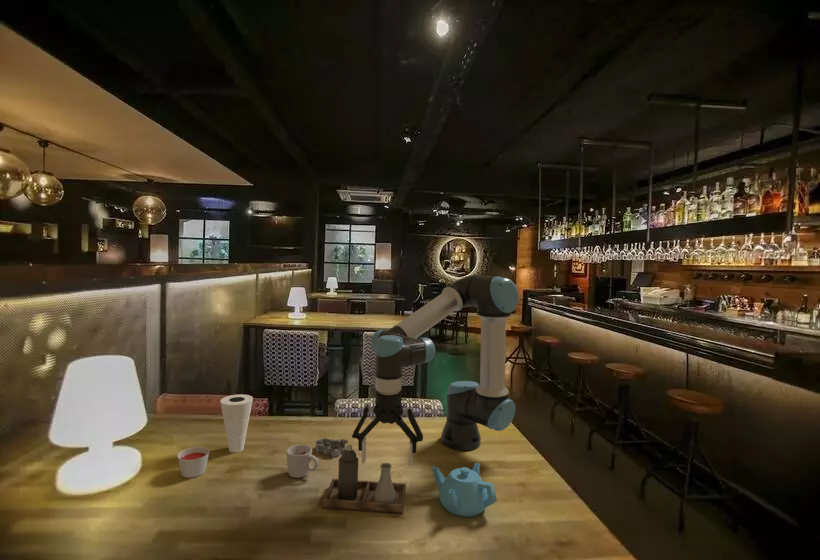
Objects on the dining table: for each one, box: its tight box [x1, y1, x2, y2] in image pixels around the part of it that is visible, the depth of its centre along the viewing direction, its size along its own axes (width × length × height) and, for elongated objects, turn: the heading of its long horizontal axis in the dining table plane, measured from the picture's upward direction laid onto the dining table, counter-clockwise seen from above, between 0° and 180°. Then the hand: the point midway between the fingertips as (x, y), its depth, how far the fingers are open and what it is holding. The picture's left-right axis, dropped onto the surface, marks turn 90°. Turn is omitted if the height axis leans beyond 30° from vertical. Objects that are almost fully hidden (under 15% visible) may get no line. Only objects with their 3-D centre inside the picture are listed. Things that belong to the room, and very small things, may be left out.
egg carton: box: [314, 437, 349, 458], centre depth 157 cm, size 11×8×4 cm
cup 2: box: [220, 394, 254, 453], centre depth 154 cm, size 11×11×18 cm
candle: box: [177, 446, 210, 479], centre depth 138 cm, size 9×9×6 cm
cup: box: [285, 444, 319, 479], centre depth 139 cm, size 11×8×8 cm
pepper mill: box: [337, 444, 359, 501], centre depth 127 cm, size 6×6×15 cm
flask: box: [372, 462, 397, 503], centre depth 127 cm, size 7×7×10 cm
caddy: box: [322, 478, 407, 515], centre depth 127 cm, size 22×12×2 cm, turn 87°
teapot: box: [431, 462, 498, 518], centre depth 126 cm, size 15×15×11 cm
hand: (387, 462), depth 127 cm, fingers open, 13 cm apart
